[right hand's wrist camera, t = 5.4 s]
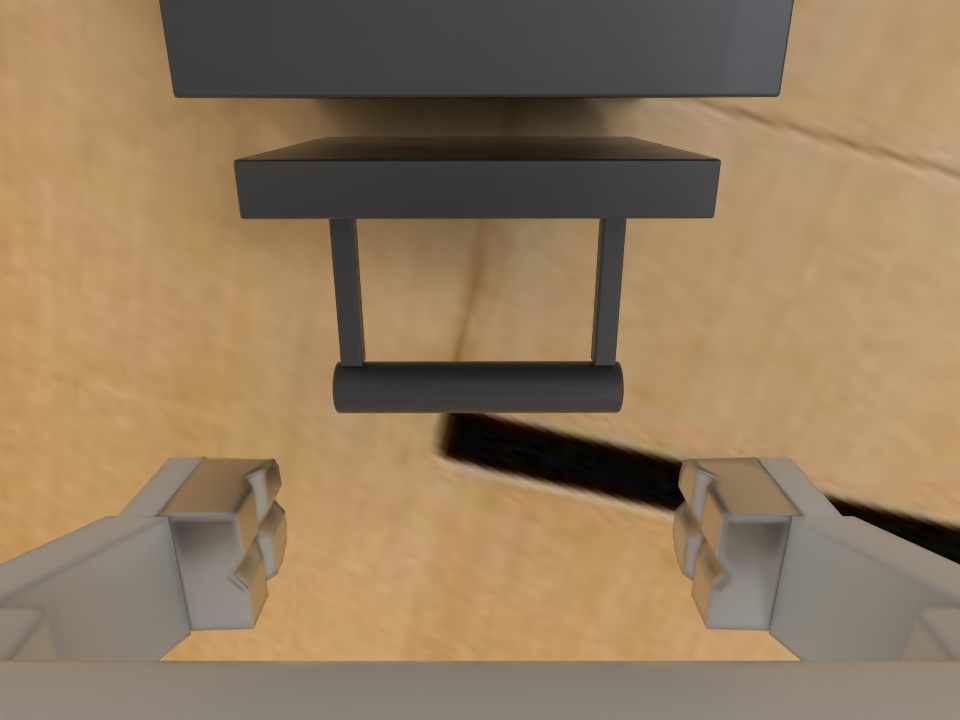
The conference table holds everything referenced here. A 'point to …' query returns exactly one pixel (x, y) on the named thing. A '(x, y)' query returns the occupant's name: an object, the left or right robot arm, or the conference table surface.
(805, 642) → the right robot arm
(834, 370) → the conference table surface
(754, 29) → the cabinet
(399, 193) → the drawer
